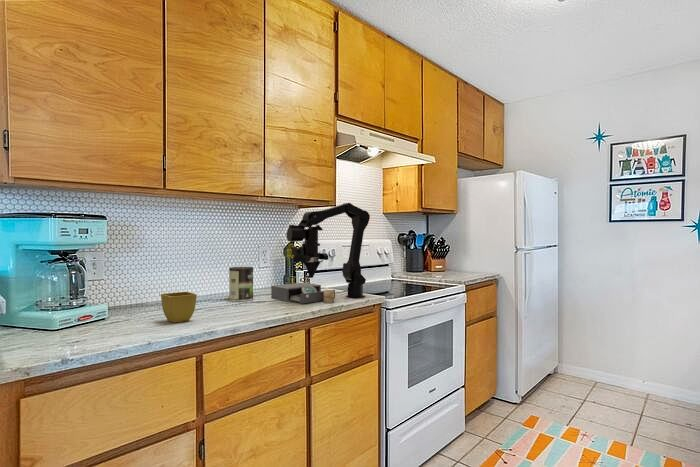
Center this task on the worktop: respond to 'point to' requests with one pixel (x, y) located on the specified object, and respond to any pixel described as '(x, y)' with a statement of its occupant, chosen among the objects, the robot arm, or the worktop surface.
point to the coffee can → (240, 284)
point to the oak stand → (328, 296)
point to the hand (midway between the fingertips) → (311, 277)
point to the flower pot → (178, 306)
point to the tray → (309, 297)
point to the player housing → (289, 290)
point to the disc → (308, 289)
